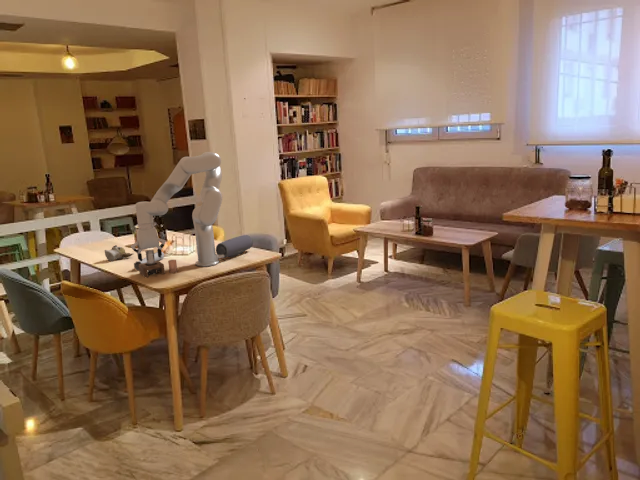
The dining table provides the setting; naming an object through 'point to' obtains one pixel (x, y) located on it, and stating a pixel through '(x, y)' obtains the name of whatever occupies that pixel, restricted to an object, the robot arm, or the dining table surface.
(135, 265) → the tube
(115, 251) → the ceramic sculpture
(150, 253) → the steel pin long
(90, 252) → the dining table surface
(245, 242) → the bluetooth speaker
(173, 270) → the clay pin short
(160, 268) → the walnut bridge
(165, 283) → the dining table surface
